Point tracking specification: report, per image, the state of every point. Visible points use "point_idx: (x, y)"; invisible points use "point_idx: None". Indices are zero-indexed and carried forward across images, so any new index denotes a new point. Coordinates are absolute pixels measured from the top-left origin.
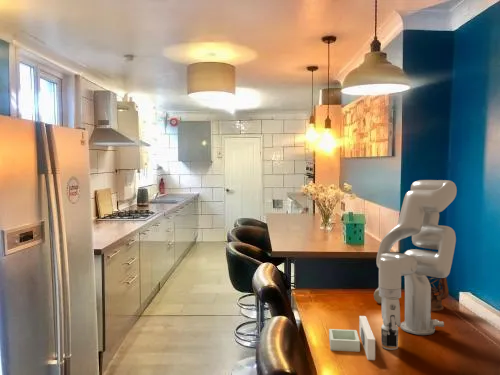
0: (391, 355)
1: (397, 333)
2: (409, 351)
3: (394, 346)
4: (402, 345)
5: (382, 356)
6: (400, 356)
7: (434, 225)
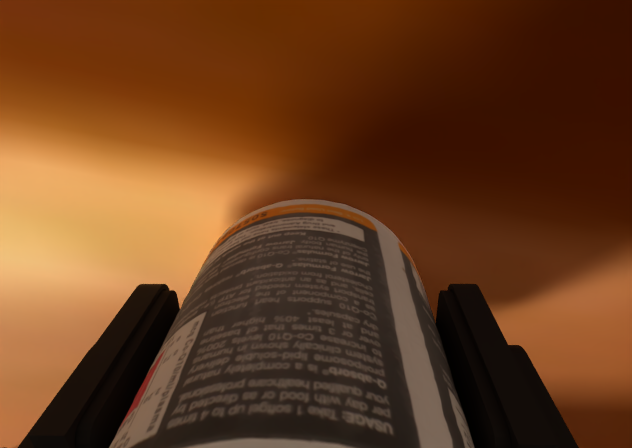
0: (565, 311)
1: (411, 390)
2: (441, 39)
3: (422, 283)
4: (218, 108)
5: (582, 399)
6: (609, 213)
7: None
